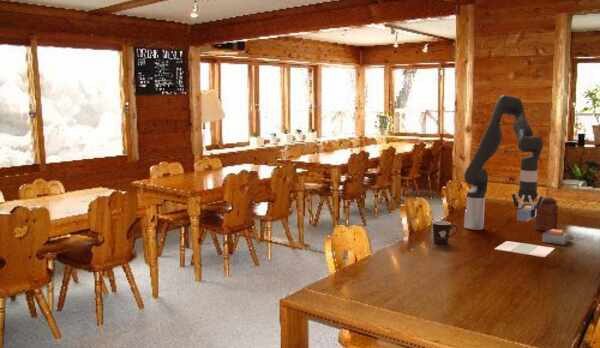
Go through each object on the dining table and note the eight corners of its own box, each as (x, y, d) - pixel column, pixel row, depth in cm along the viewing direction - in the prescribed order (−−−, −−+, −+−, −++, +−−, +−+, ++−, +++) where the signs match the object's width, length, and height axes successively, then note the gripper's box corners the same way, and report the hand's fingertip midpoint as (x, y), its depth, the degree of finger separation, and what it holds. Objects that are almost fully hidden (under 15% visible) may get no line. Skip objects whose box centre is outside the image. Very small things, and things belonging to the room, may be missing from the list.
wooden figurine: (559, 230, 291) (561, 197, 288) (556, 233, 286) (558, 199, 283) (535, 227, 298) (537, 195, 295) (532, 229, 293) (534, 196, 290)
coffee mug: (429, 244, 264) (430, 223, 262) (434, 240, 271) (434, 220, 270) (454, 246, 258) (454, 226, 257) (458, 242, 266) (458, 222, 265)
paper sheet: (494, 249, 254) (494, 248, 254) (506, 241, 268) (506, 240, 268) (544, 257, 241) (544, 256, 241) (554, 248, 255) (554, 247, 255)
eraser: (516, 220, 248) (517, 210, 247) (526, 215, 260) (526, 205, 259) (527, 221, 245) (527, 211, 245) (536, 216, 257) (536, 206, 256)
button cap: (549, 236, 268) (549, 230, 267) (551, 234, 271) (552, 228, 271) (560, 238, 264) (560, 232, 264) (562, 236, 268) (563, 230, 268)
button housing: (542, 241, 267) (542, 233, 267) (547, 237, 275) (547, 230, 275) (564, 245, 261) (564, 236, 261) (569, 240, 269) (569, 232, 269)
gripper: (547, 180, 249) (545, 217, 251) (514, 177, 257) (513, 213, 260) (542, 182, 243) (540, 220, 245) (510, 179, 252) (508, 216, 254)
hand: (526, 216), depth 252 cm, fingers closed on eraser, 4 cm apart
